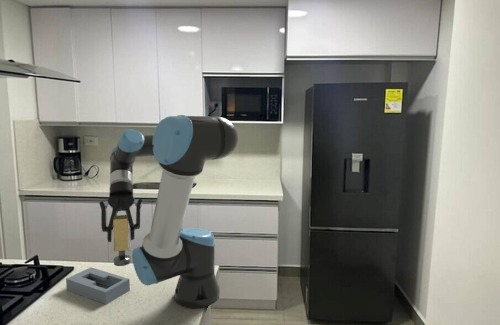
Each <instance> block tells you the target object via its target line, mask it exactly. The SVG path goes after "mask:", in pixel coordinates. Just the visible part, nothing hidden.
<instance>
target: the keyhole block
mask: <svg viewBox="0 0 500 325" xmlns="http://www.w3.org/2000/svg"><path fill="white" fill-rule="evenodd" d="M130 282H131V281H130V278H128V277H123V276H121V275H118V274H114V273H111V272H108V271H104V270H101V269H99V268H94V267H92V266H91V267H88V268H86V269H84V270H82V271H80V272H78V273H75V274H73V275H71V276H68V277H67V278H65V286H66V291H68V292H71V293H74V294H77V295H80V296H82V297H85V298H87V299H90V300H93V301H96V302H99V303H101V304H104V305H109V303H111V302H113V301H115V300H116V299H118V298H119V297H121V296H123V295H124V294H126V293H128V292H129V291H130V290H131V287H130V286H131V283H130ZM97 284H100V285H103V286H107V287H108V288H104V287H101V286H98V285H97Z"/></svg>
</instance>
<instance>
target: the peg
mask: <svg viewBox="0 0 500 325" xmlns="http://www.w3.org/2000/svg"><path fill="white" fill-rule="evenodd" d="M113 225H114V227H113V230H114V248H115V250H114V252H118V255H117V256H115V257H114V258H113V265H114V266H116V267H124V266H128V265H130V264H131V263H132V262H131V261H132V258H131V257H132V256H131V255H128V254H126V251H128V228H129V223H128V215H126V214H124V215H123V214H122V215H117V216H114V219H113Z"/></svg>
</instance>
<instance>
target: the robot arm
mask: <svg viewBox="0 0 500 325" xmlns="http://www.w3.org/2000/svg"><path fill="white" fill-rule="evenodd" d="M238 141H239V135H238V131H237V129H236V127H235V125H234V124H233V123H232V122H231V121H230V120H228V119H227V118H225V117H221V116H217V115H209V116H207V115H205V116H203V115H201V116H200V115H184V114H179V115H174V116H173V115H171V116H170V115H169V116H167V117H164V118H163V119H161V120H160V121H159V122H158V124H157V125H156V127H155V129H154V132H153V134H152V135H151V134H150V135H148V134H143V133H142V132H140V131H139V130H135V129H132V128H130V129H126V130H124V131H123V132H122V134H121V135H120V137H119V138H118V141H117V144H116V146H115V147H114V148H112V149H111V152H110V158H109V163H110V166H109V168H110V169H109V170H110V171H109V196H108V198H107V200H105V201H100V202H99V209H100V212H101V215H100V216H101V221H100V222H101V226H100V227H101V231H102V232H103V233H107V242H108V243H110V245H111V246H110V251H111V254H115V248H114V225H113V219H114V216H118V213H119V212H122V211H123V212H125V215H128V250H127V251H128V252H132V254H131V257H132V258H131V260H132V265H133V268H134V271H135V274H136V276H137V278H138V281H139V282H140V283H141V284H142V285H144V286H152V285H156V284H159V283H161V282H164V281H167V280H170V279H172V278H175V277H178V280H177V283H176V287H175V290H174V299H175V300H174V301H175V302H176V304H178V305H179V306H181V307H183V308H188V309H200V308H206V307H208V306H211V305H213V304H215V303H216V302H217V301H218V300H219V299H220V295H221V294H220V293H221V292H220V291H221V290H220V289H221V288H220V286H219V284H218V280H217V277H216V272H215V247H216V244H215V243H216V242H215V236H214V234H213V232H211V231H210V230H207V229H204V228H197V227H185V228H183V225H184V222H185V216H186V213H187V210H188V205H189V201H190V199H191V193H192V189H193V186H194V183H195V182H194V181H195V177H196V176H199V175H201V173H203V171H204V170H203V169H204V166H205V162H206V161H213V160H214V161H215V160H220V159H224V158H227V157H228V156H229V155H231V154H232V153H233V152H234V151H235V150H236V147H237V146H238ZM142 157H145V158H146V157H155V160H156V161H157V162H158V165H159V167H160V168H161V169H162V172H161V178H160V181H159V187H158V191H157V192H158V193H157V197H156V202H155V206H154V212H153V216H152V221H151V226H150V227H151V228H150V232H148V233H147V234H146V235H145V236H144V237H143V239H142V244H141V246H137V247H135V248H133V250H132V248H131V247H132V244H131V243H132V241H134V240H135V230H139V229H141V208H142V206H143V199H141V198H140V199H139V198H138V199H137V198H135V197H134V186H133V185H134V176H133V172H134V171H133V169H134V163H135V162H136V160H137V158H142ZM133 205H134V207H136V209H135V211H136V212H135V215H136V216H135V223H134V221H133V216H132V213H131V207H132V206H133ZM109 206H110V208H112V211H111V213H110V218H109V222H108V225H107V209H108V207H109ZM182 228H183V229H182Z"/></svg>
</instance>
